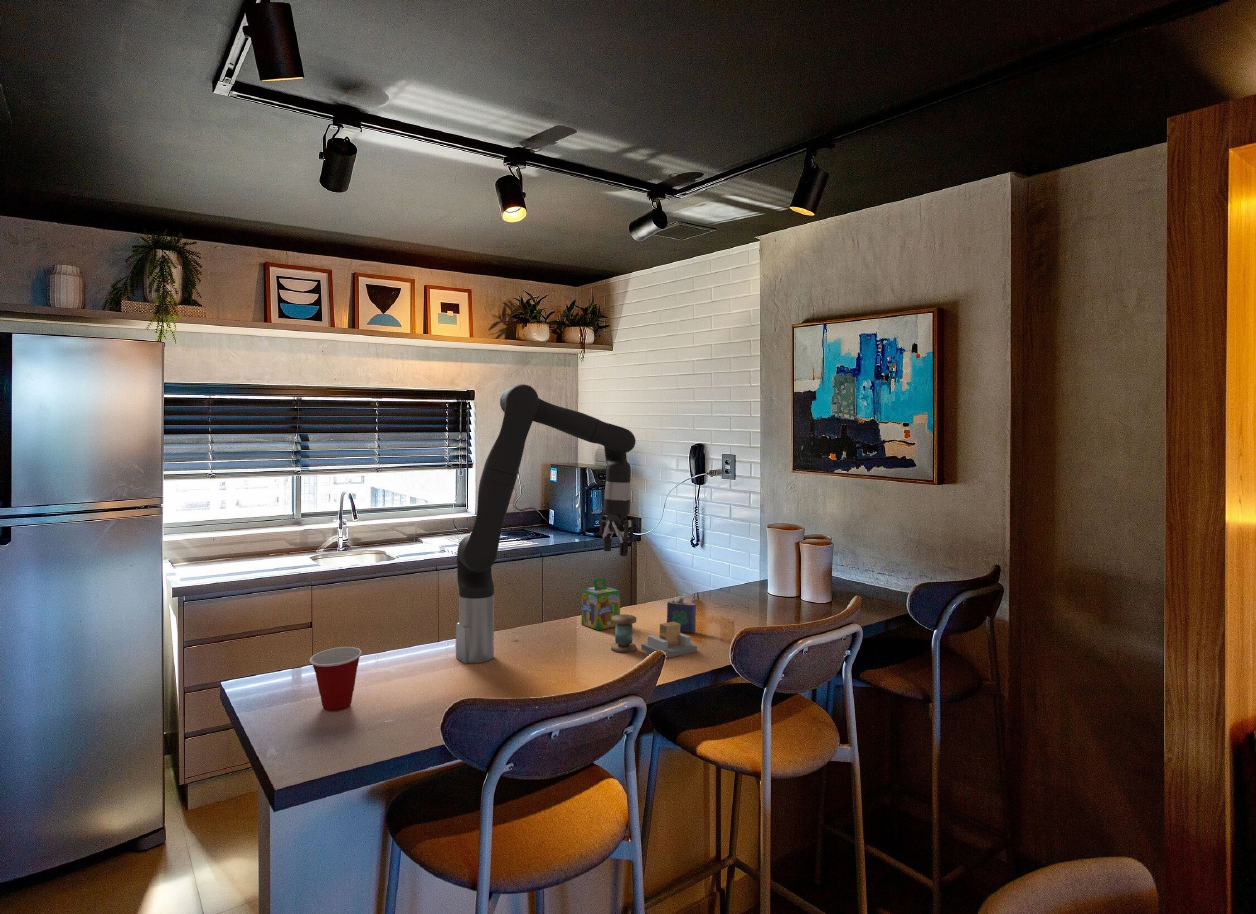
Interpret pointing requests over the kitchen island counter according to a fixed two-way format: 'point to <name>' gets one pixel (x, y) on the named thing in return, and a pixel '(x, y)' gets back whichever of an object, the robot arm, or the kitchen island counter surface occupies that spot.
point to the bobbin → (623, 633)
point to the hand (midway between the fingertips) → (615, 553)
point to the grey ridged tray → (661, 644)
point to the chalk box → (600, 606)
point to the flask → (682, 615)
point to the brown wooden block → (670, 633)
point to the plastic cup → (336, 676)
